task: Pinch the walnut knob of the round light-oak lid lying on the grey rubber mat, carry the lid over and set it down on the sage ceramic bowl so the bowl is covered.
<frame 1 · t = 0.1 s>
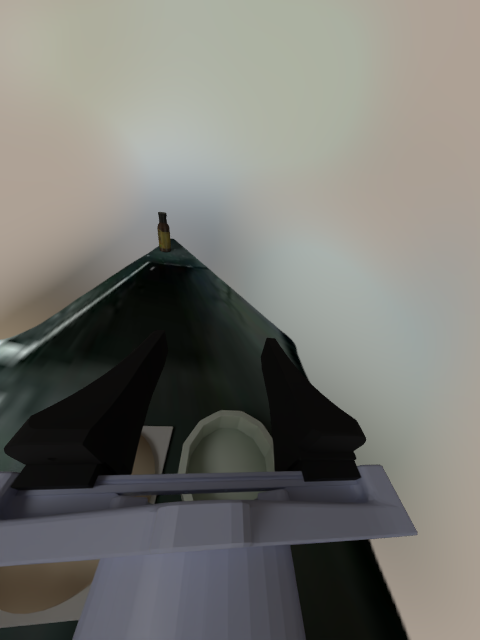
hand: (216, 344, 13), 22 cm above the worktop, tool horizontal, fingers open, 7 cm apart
bowl: (227, 472, 24), on the worktop
lid: (87, 494, 20), resting on mat
mat: (88, 496, 21), on the worktop
sauce bottle: (165, 251, 107), on the worktop
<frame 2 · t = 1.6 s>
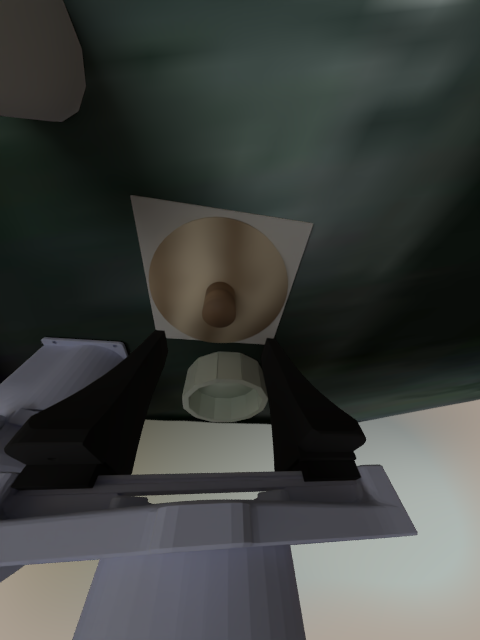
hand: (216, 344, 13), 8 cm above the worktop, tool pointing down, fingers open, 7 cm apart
bowl: (225, 376, 30), on the worktop
lid: (220, 291, 19), resting on mat
mat: (220, 289, 20), on the worktop
foam cup: (21, 39, 10), on the worktop
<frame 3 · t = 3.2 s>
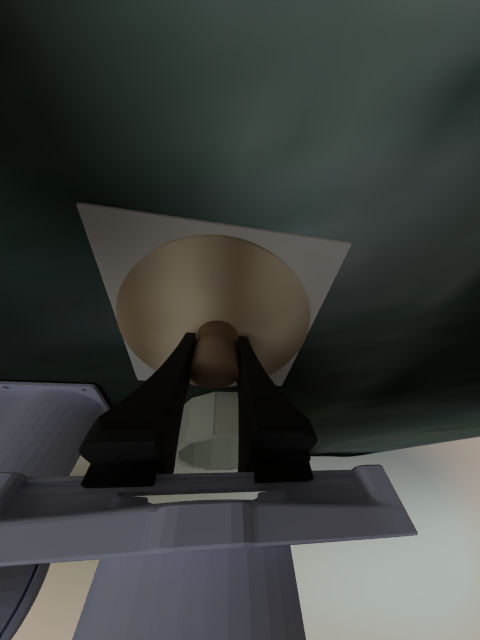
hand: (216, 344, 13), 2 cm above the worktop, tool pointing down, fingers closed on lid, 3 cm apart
bowl: (225, 415, 25), on the worktop
lid: (217, 329, 14), resting on mat, touching gripper
mat: (218, 325, 15), on the worktop
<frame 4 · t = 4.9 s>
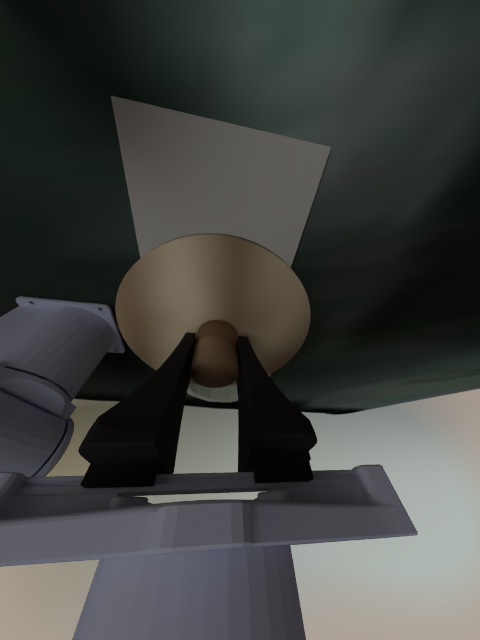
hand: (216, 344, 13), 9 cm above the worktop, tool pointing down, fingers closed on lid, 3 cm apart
bowl: (224, 352, 27), on the worktop
lid: (217, 328, 14), point 7 cm above the worktop, touching gripper
mat: (220, 238, 17), on the worktop
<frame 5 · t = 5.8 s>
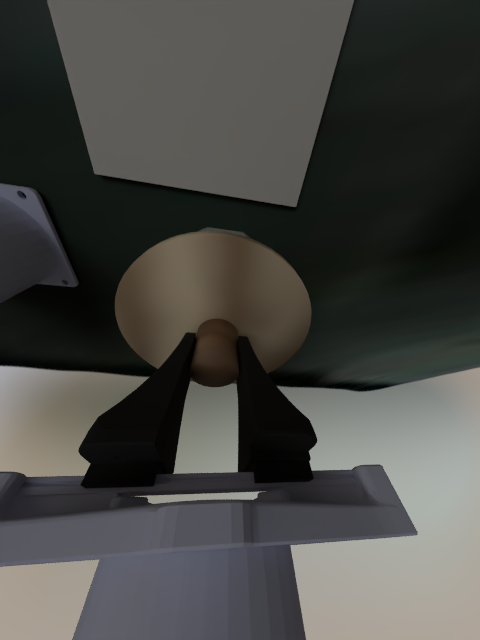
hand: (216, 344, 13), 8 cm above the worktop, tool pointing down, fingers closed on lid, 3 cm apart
lid: (218, 326, 14), point 6 cm above the worktop, touching gripper
mat: (204, 18, 9), on the worktop
when the fingers open (7 cm above the worktop, at t = 6.6 s): lid drops 1 cm, resting on bowl.
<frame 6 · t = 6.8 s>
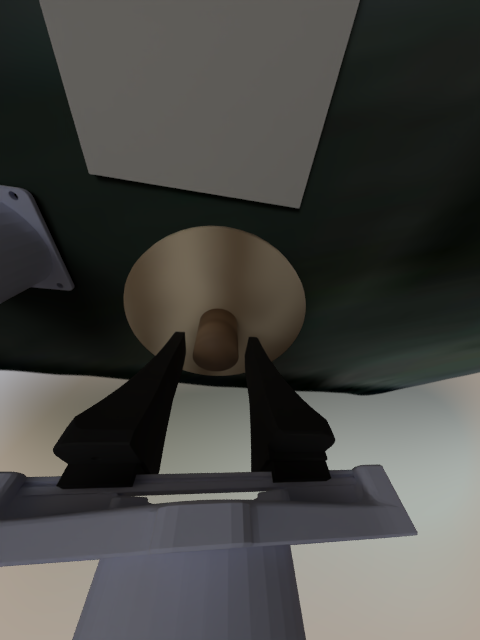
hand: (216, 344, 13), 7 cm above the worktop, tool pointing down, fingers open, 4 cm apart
lid: (218, 317, 15), point 4 cm above the worktop, touching bowl
mat: (204, 9, 9), on the worktop
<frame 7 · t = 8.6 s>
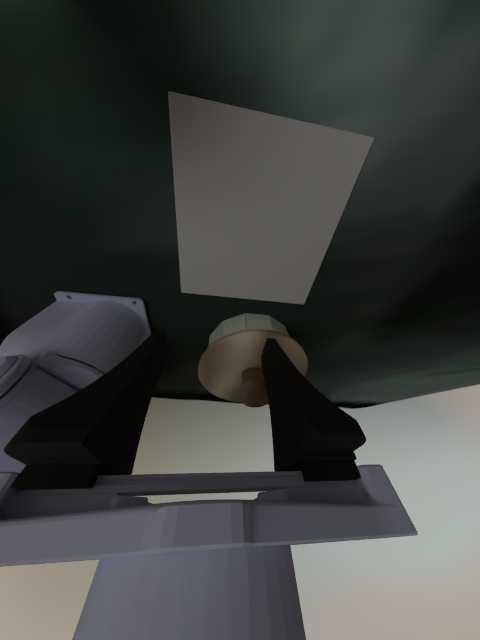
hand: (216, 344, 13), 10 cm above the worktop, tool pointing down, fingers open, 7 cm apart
bowl: (249, 345, 27), on the worktop
lid: (252, 369, 24), point 4 cm above the worktop, touching bowl
mat: (256, 230, 18), on the worktop
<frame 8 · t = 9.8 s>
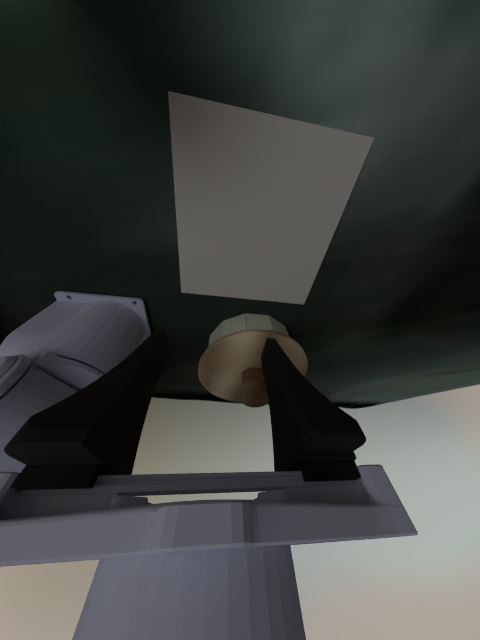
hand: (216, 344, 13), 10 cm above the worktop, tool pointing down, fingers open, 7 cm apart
bowl: (249, 345, 27), on the worktop
lid: (252, 369, 24), point 4 cm above the worktop, touching bowl
mat: (256, 230, 18), on the worktop
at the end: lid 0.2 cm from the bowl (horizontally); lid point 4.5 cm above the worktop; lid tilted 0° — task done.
